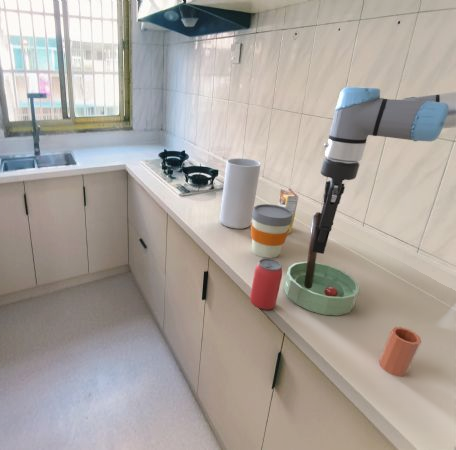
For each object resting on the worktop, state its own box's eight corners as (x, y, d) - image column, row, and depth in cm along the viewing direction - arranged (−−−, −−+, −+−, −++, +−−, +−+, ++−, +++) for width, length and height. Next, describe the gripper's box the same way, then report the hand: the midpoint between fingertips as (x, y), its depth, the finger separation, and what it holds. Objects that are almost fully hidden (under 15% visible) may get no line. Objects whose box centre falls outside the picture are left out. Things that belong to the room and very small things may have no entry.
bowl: (350, 289, 96) (356, 271, 94) (354, 326, 82) (361, 306, 79) (287, 273, 103) (290, 256, 100) (279, 305, 88) (284, 285, 86)
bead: (336, 296, 92) (339, 286, 90) (336, 302, 89) (339, 292, 88) (323, 292, 93) (326, 283, 92) (323, 299, 90) (325, 289, 89)
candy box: (273, 223, 138) (280, 188, 131) (284, 224, 137) (291, 188, 131) (279, 233, 129) (287, 195, 123) (291, 233, 129) (299, 196, 123)
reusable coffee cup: (269, 264, 107) (277, 221, 101) (238, 248, 117) (244, 208, 110) (292, 254, 114) (301, 213, 108) (261, 240, 123) (268, 201, 117)
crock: (403, 364, 71) (418, 331, 68) (407, 381, 67) (423, 347, 64) (377, 356, 73) (390, 324, 69) (379, 372, 69) (393, 339, 65)
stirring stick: (312, 287, 92) (322, 211, 84) (311, 290, 91) (322, 213, 82) (304, 285, 93) (313, 210, 85) (303, 289, 91) (313, 213, 83)
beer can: (244, 301, 89) (251, 262, 84) (258, 292, 93) (266, 254, 88) (265, 314, 85) (274, 273, 80) (280, 304, 89) (289, 265, 84)
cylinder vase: (213, 218, 140) (220, 159, 130) (239, 215, 144) (247, 157, 134) (230, 231, 129) (238, 167, 119) (257, 227, 134) (267, 165, 123)
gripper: (324, 151, 85) (304, 235, 95) (323, 164, 73) (300, 259, 82) (358, 155, 82) (333, 241, 92) (362, 169, 70) (334, 267, 79)
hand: (318, 249), depth 87 cm, fingers closed on stirring stick, 2 cm apart
